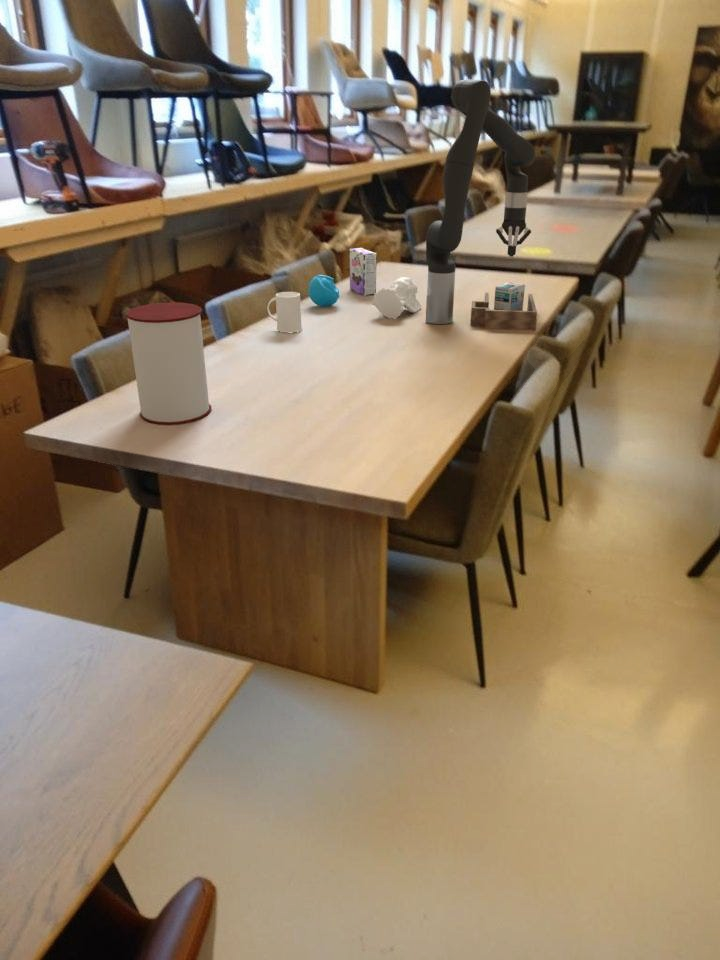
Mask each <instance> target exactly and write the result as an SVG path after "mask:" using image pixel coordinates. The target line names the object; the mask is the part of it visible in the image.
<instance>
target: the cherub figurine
mask: <svg viewBox="0 0 720 960" xmlns="http://www.w3.org/2000/svg"><path fill="white" fill-rule="evenodd" d="M418 292H419V291H418V286H417V283H415V282H414V280H412V278H409V277H404V276H403V277H402V276H401V277H398V278H397V279H396V280H394V282H393V283H392V284H391V285H390V287H381V289H379V290H378V291H376V293H375V295H373V298H374V299H373V300H372V301H371V302H372V303H371V304H372V305H373V306H374V307H375V308H376V309H377V310H378V311H379V313H380V314H381V315H382V316H384V317H386V318H387V319H394V320H397V319H398V317H399V316H401V315H402V313H404V309H406V310H407V311H408V312H410V313H412V314H414V313H417V312H419V311H420V310H421V309H422V304H421V302H420V301H419V300H418V299H417V298H416V296H417V295H416V294H417V293H418Z"/></svg>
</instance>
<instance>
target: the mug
mask: <svg viewBox="0 0 720 960" xmlns="http://www.w3.org/2000/svg"><path fill="white" fill-rule="evenodd" d="M268 301H269V302H268V303H267V313H268V316H269V317H270V318H271V319H272V320H273V321H275V322H277V323H276V331H277V330H278V331H280V332H297V331H300V332H302V331H303V328H302V309H301V293H300V292H297V291H281V292H277V293H275V296H274V297H272V298H271V299H270V300H268ZM274 301H275V305H276V306H275V307H276V308H275V309H276V317H275V316H273V315H272V313H271V312H270V305H271V304H272V302H274ZM301 330H302V331H301ZM278 331H277V332H278ZM280 332H279V333H280ZM297 333H298V332H297Z"/></svg>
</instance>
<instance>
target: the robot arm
mask: <svg viewBox="0 0 720 960" xmlns="http://www.w3.org/2000/svg"><path fill="white" fill-rule="evenodd" d="M491 93H492V92H491V85H490V84H489V83H488V81H486V80H484V79H467V78H466V79H461V80H459V81H457V82H456V83H455V84H454V85H453V88H452V91H451V101H452V105H453V107H454V108H455V109H456V110H457V111H459V112H460V113H461V114H462V115H464V116H465V119H464V122H463V126H462V129H461V131H460V133H459V135H457V138H456V140H454V142H453V144H452V145H451V146H450V148H449V150H448V152H447V153H446V156H445V157H446V158H445V162H444V167H443V172H442V188H443V195H444V212H443V217H442V219H441V220H435V221H433V222H432V223H431V224H430V225H429V227H428V229H427V231H426V236H425V237H426V239H425V240H426V241H425V259H426V263H427V268H428V269H427V270H428V271H427V293H426V306H425V307H426V308H425V309H426V310H425V323H428V324H433V325H435V324H436V325H445V324H446V325H447V324H451V323H453V322H454V305H455V303H454V300H455V285H456V284H455V281H456V280H455V279H456V269H457V268H456V266H457V265H456V262H455V261H454V259H453V257H452V255H451V253H452V252H454V251H456V250H457V248H458V247H459V246H460V243H461V241H462V237H463V230H464V220H465V219H464V218H465V211H466V205H467V200H468V195H469V189H470V185H471V181H472V177H473V171H474V166H475V161H476V155H477V152H478V151H477V150H478V146H479V142H480V137H481V133H482V131H483V132H484V133H485V134H486V135H487V136H488V137H489V138H490V139H491V140H492V142H493V143H494V144H495V145H496V146H497V147H498V148H499V150H501V151H502V152H504V158H503V159H504V167H505V171H506V177H507V178H506V179H507V181H506V183H507V185H506V194H505V200H504V212H503V221H502V223H501V226H500V227H498V228H496V229H495V233H496V235H497V236H498V237H499V239H500V240H501V241H502V243H503V244H504V245H506V246H507V255H508V256H509V257H511V258H512V257H514V256H515V255H516V252H517V246H519V245H522V244H523V243H524V241H525V240H526V239H527V238H528V237H529V236H530V234H531V233H532V229H530V228H529V227H528V226H527V223H526V217H527V216H526V215H527V205H528V188H529V187H528V186H529V176H528V174H526V173H523V172H522V171H521V167H528V166H531V165H532V164H533V163H534V161H535V159H536V149H535V147H534V146H533V144H532V143H531V142H530V141H529V140H527V139H526V138H524V137H523V136H522V135H520V134H519V133H517V132H516V130H515V129H514V128H513V127H512V125H511V124H510V123H509V122H508V121H507V120H506V119H505V118H503V116H501V115H499V114H497V113H496V112H494V111H493V110H491V109H490V107H489V106H490V103H491ZM504 232H505V234H506V235H507V239H508V240H507V239H506V238H505V235H504V234H503V233H504ZM522 233H523V235H522V236H521V237H520V238H519V236H520V235H521V234H522ZM518 238H519V239H518Z"/></svg>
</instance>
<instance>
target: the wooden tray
mask: <svg viewBox="0 0 720 960" xmlns="http://www.w3.org/2000/svg"><path fill="white" fill-rule="evenodd" d="M489 295H490V293H489V292H485V293H484V301H482V300H472V301H471V307H470V308H471V309H470V326H472V327H473V326H474V327H475V326H478V327H484V329H492V330H493V329H494V330H495V329H496V330H497V329H498V330H521V331H523V330H524V331H536V327H537V317H538V316H537V315H538V309H537V308H536V304H535V300H534V296H533V294H531V293H529V294H528V295H527V298H528V299H527V306H526V307H527V308H526V310H523V311H509V310H494V309H490V307H489V304H490V300H489V299H490V297H489Z"/></svg>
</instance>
